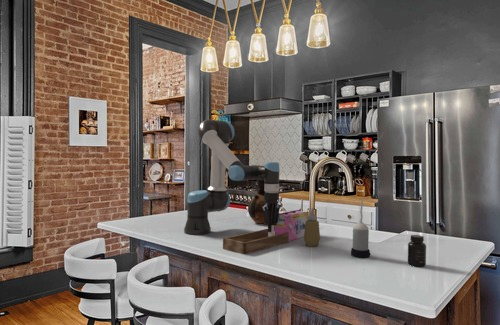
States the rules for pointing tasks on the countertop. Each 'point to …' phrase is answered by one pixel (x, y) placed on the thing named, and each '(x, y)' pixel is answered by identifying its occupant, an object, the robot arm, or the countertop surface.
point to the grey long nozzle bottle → (360, 238)
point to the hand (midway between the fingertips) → (271, 238)
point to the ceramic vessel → (257, 204)
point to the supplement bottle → (417, 251)
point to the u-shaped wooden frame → (254, 241)
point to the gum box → (292, 224)
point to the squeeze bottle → (312, 230)
